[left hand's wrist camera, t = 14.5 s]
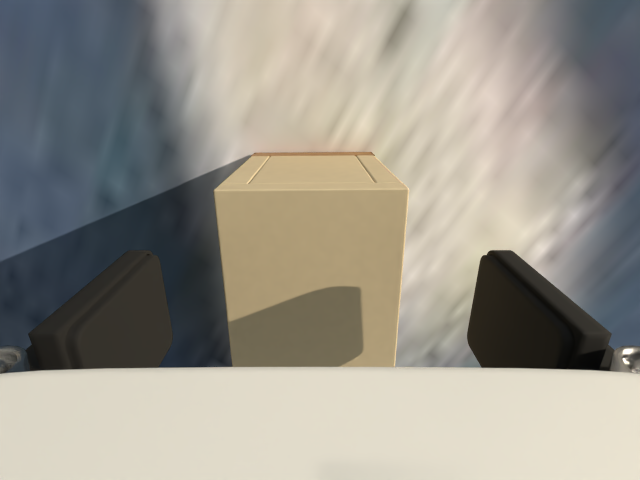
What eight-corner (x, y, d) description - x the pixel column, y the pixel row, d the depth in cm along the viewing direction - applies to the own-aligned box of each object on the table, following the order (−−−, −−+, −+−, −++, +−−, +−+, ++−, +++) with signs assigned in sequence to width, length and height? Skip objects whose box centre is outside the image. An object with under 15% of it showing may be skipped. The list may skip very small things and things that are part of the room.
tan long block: (357, 469, 26) (374, 617, 18) (275, 470, 26) (259, 619, 18) (371, 151, 18) (410, 188, 11) (254, 152, 18) (212, 189, 11)
